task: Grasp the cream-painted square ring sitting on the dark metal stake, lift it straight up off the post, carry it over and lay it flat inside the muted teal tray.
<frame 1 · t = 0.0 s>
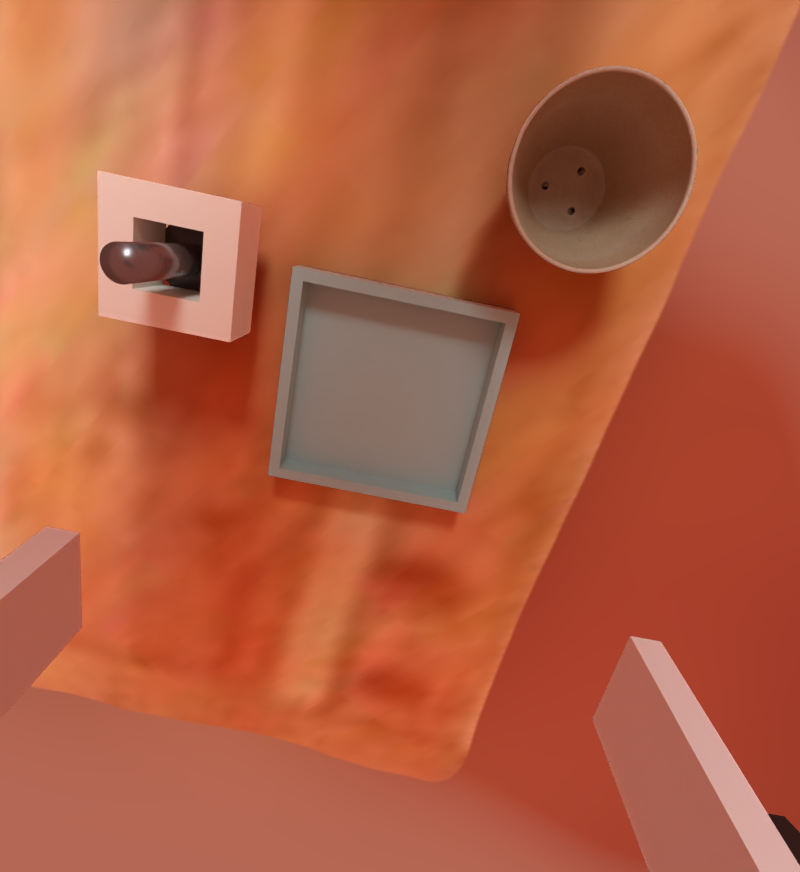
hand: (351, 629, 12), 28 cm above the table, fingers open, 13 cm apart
flower pot: (564, 190, 34), on the table
stake: (212, 258, 36), on the table
tray: (387, 391, 39), on the table
ring: (195, 259, 33), point 3 cm above the table, touching stake
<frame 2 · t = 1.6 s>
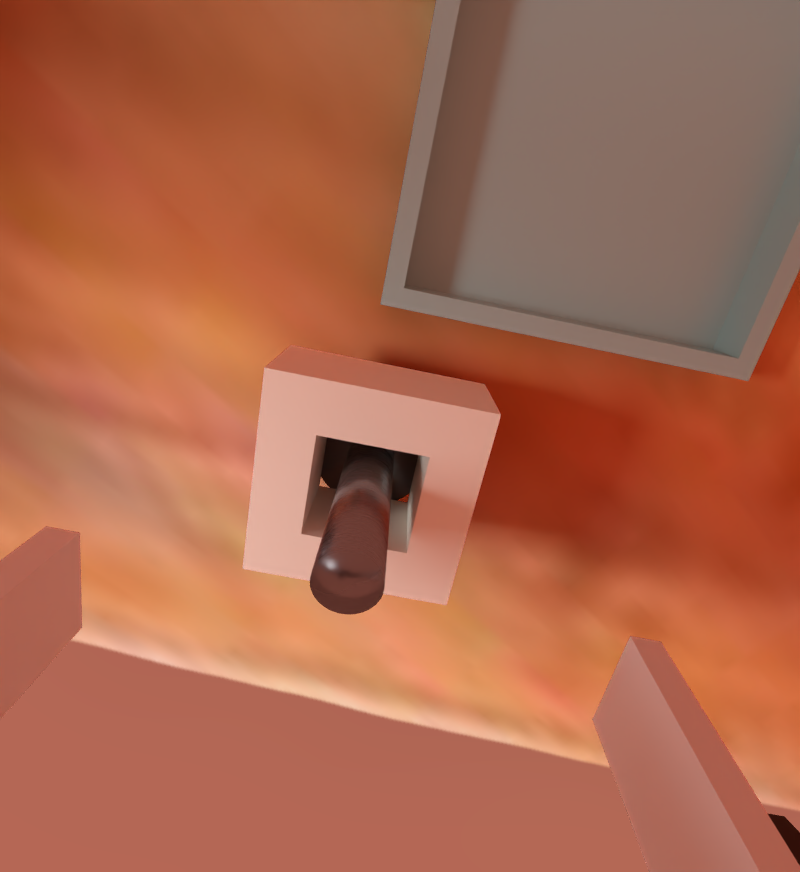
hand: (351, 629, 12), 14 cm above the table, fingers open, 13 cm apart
stake: (375, 430, 25), on the table
tray: (611, 140, 20), on the table
ring: (371, 453, 22), point 3 cm above the table, touching stake
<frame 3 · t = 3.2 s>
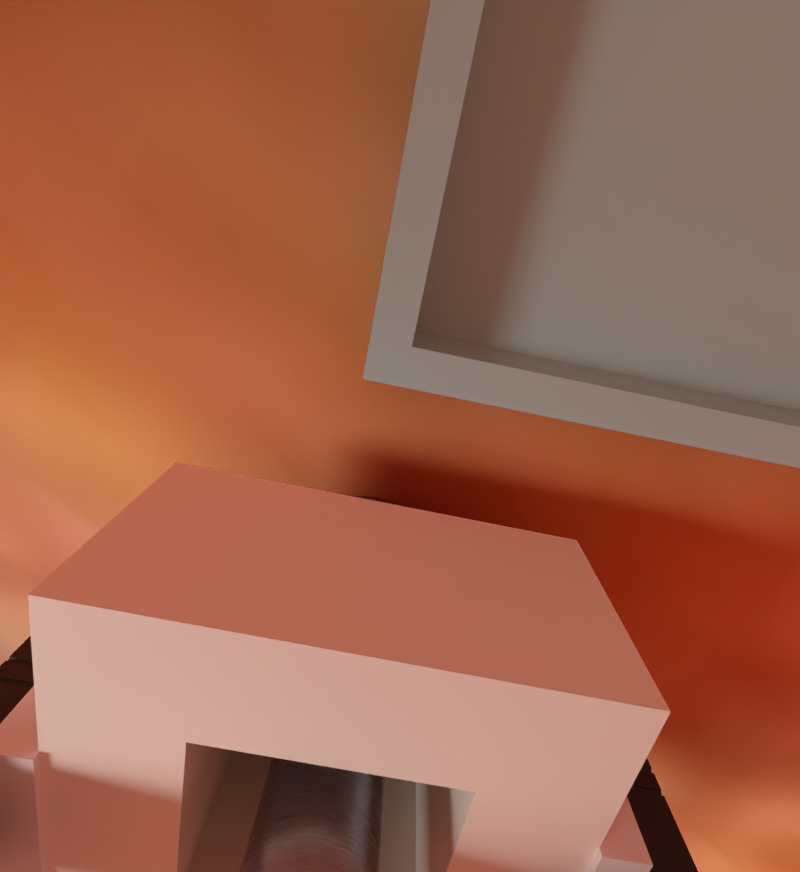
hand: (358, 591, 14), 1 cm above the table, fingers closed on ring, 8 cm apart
stake: (361, 576, 14), on the table
ring: (346, 658, 11), point 3 cm above the table, touching gripper, stake
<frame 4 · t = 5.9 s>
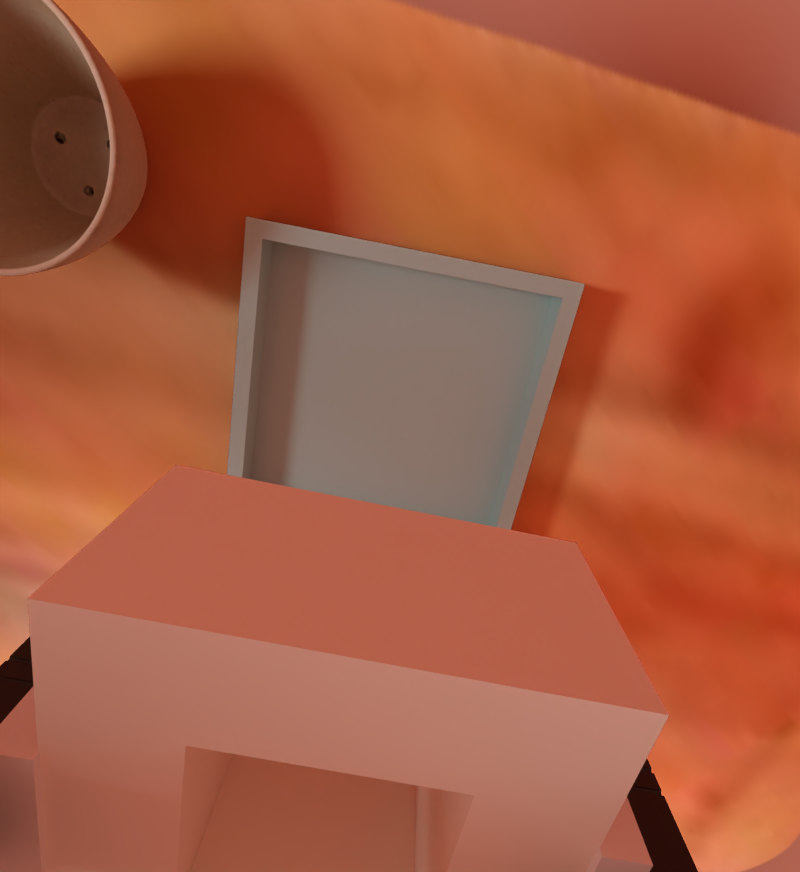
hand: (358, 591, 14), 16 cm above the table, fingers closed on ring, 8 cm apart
flower pot: (94, 158, 24), on the table
tray: (389, 398, 28), on the table
ring: (346, 660, 11), point 18 cm above the table, touching gripper
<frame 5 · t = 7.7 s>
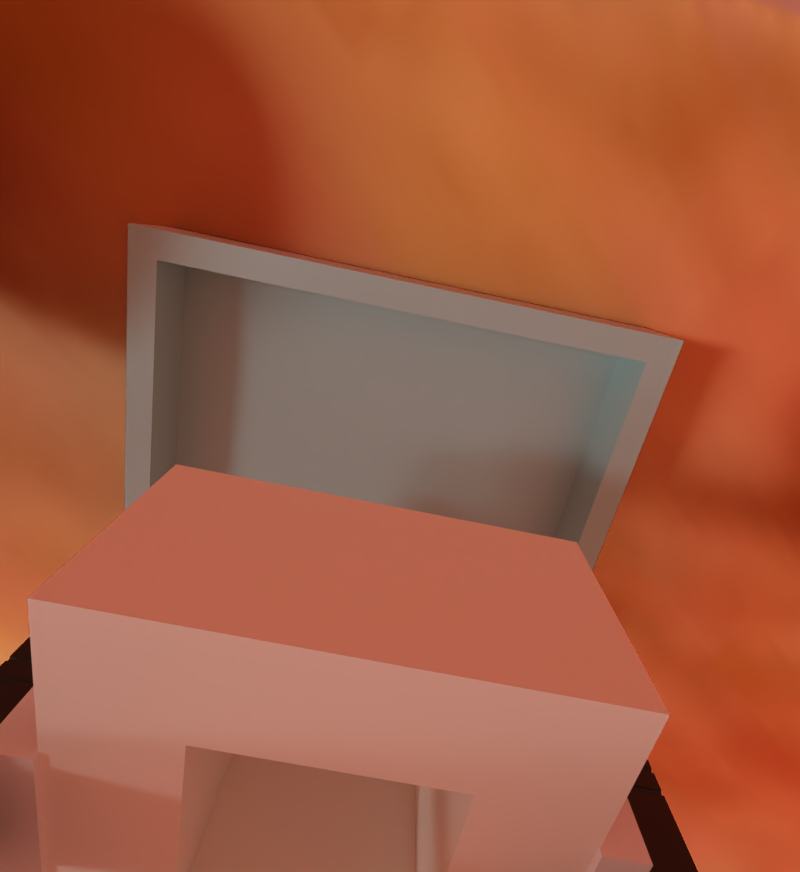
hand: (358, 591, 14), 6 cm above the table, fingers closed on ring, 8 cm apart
tray: (369, 493, 19), on the table
ring: (346, 659, 11), point 8 cm above the table, touching gripper
when the fingers open (2 cm above the table, at t = 8.9 s): ring drops 4 cm, resting on tray.
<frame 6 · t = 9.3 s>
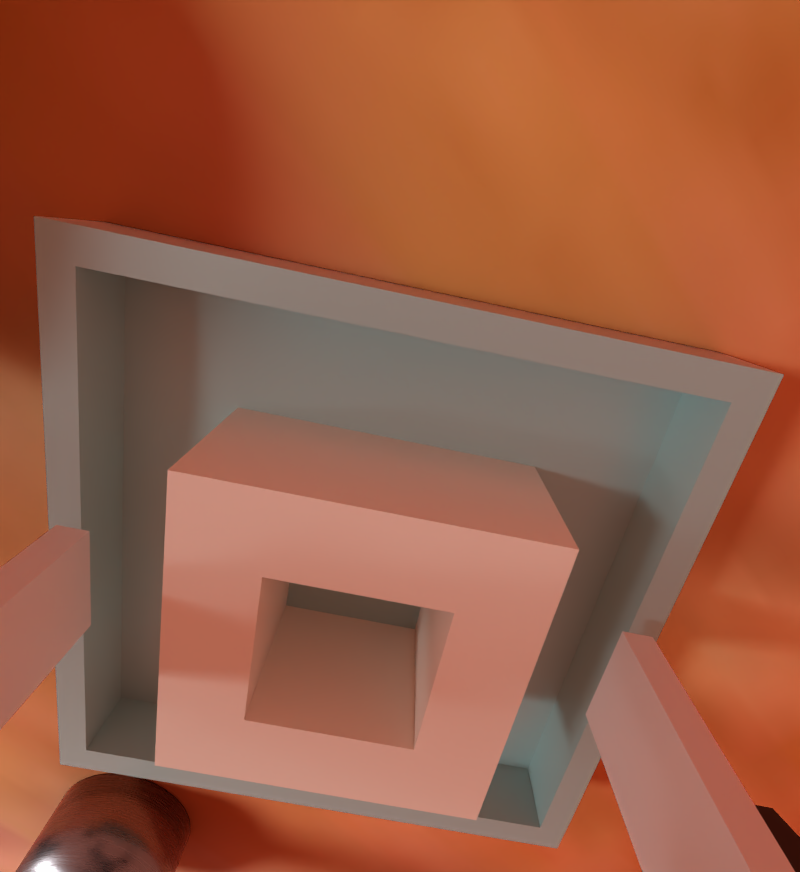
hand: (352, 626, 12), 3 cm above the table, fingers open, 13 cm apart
stake: (126, 819, 20), on the table
tray: (364, 552, 15), on the table
ring: (362, 562, 15), resting on tray
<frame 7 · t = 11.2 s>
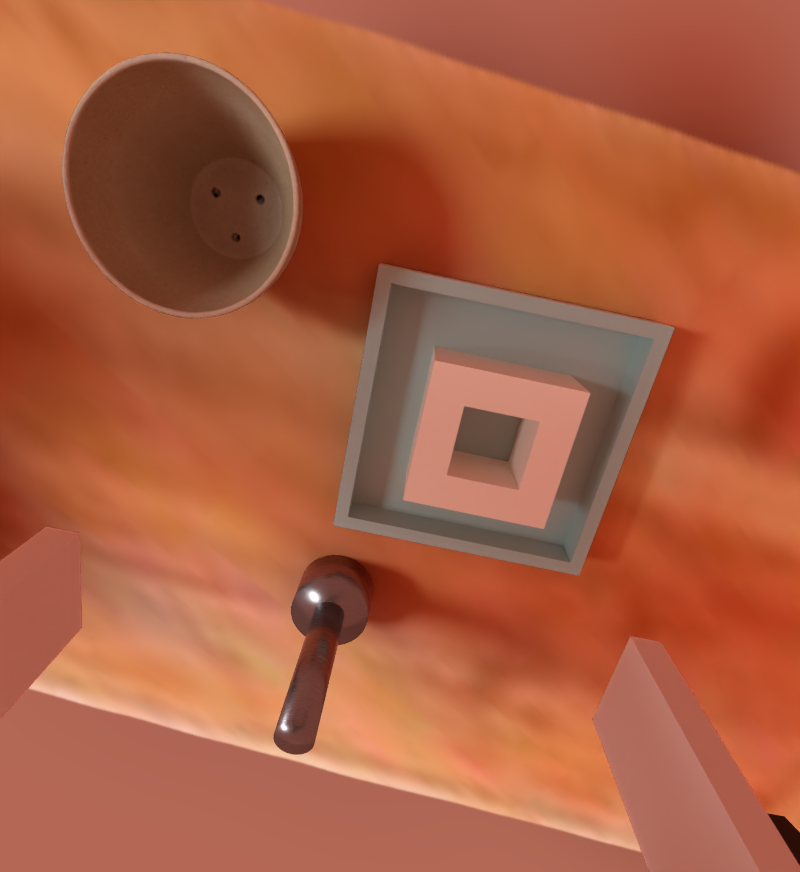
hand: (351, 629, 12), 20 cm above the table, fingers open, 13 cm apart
flower pot: (241, 209, 28), on the table
stake: (337, 585, 36), on the table
tray: (484, 421, 31), on the table
ring: (484, 424, 31), resting on tray
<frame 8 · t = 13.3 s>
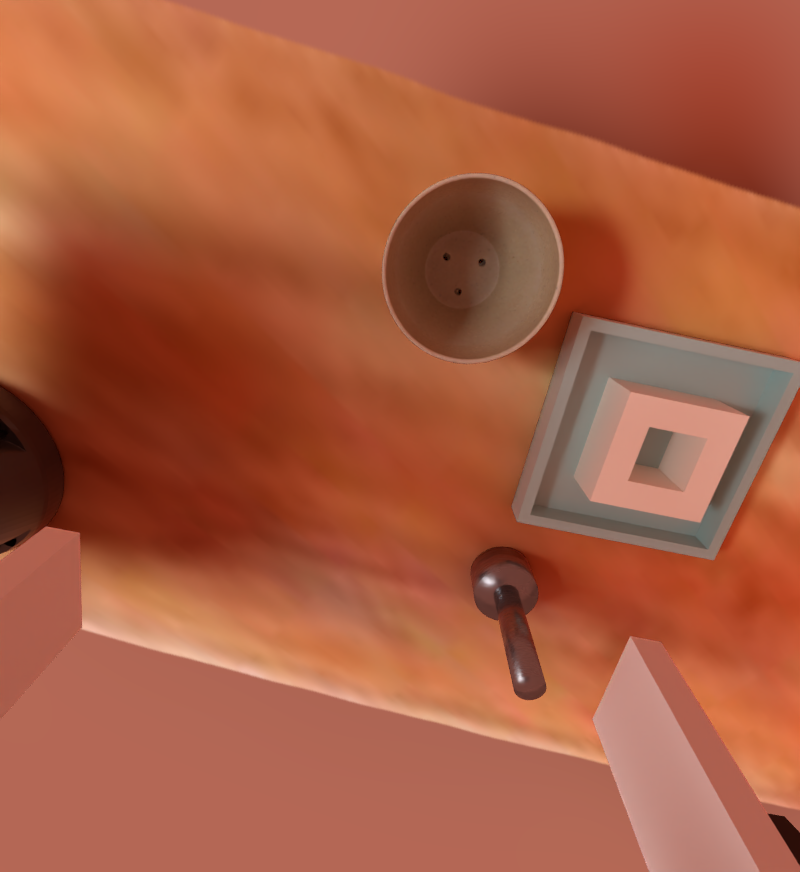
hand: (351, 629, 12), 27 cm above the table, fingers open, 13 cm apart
flower pot: (461, 268, 35), on the table
stake: (500, 572, 43), on the table
tray: (640, 436, 38), on the table
ring: (642, 439, 38), resting on tray
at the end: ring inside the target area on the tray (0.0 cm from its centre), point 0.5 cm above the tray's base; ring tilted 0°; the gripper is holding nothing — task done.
